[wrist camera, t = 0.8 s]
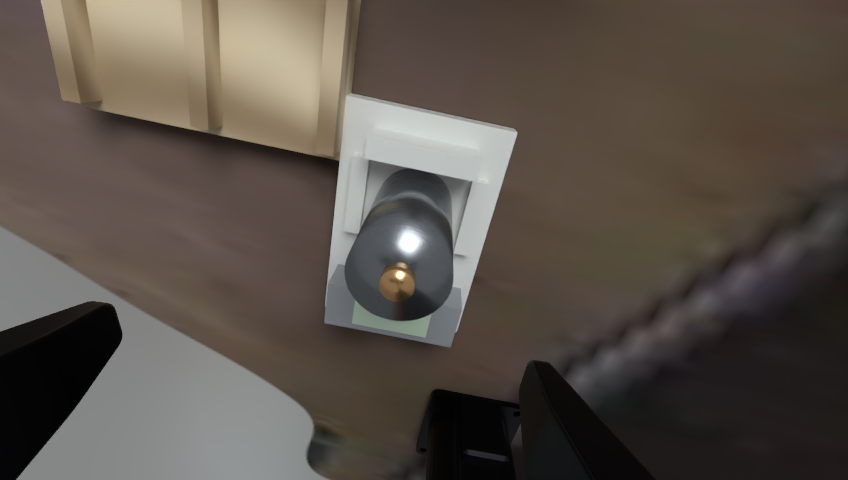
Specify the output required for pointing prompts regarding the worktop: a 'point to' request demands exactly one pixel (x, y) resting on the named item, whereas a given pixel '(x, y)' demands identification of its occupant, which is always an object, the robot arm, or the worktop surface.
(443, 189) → the cell
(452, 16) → the worktop surface
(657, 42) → the worktop surface
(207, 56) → the wooden tray
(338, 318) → the cradle
